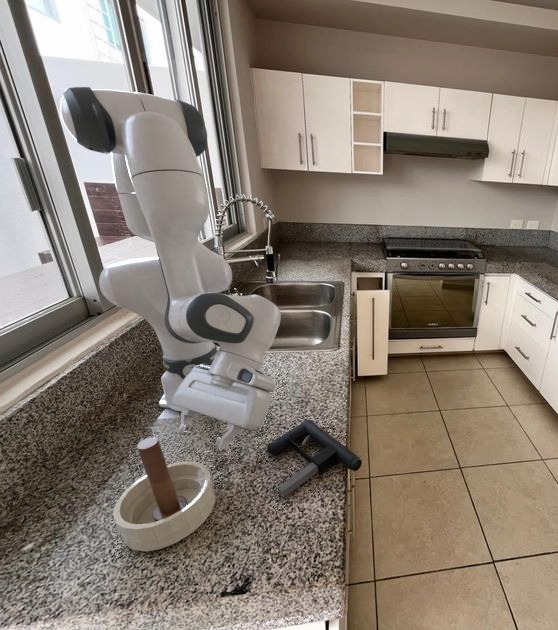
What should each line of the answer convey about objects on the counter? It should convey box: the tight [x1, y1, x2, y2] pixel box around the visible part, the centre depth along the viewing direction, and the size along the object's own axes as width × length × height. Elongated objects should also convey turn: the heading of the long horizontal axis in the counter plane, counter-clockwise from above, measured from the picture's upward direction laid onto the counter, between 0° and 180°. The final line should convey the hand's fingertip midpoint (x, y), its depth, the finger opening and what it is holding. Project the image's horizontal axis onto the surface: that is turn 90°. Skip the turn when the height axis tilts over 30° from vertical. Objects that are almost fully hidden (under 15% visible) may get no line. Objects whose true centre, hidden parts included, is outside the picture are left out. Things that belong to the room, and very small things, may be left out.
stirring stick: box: [136, 436, 188, 522], centre depth 58 cm, size 5×5×16 cm
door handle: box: [266, 419, 363, 499], centre depth 73 cm, size 3×20×16 cm
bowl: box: [112, 460, 217, 552], centre depth 60 cm, size 14×14×6 cm
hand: (201, 441), depth 65 cm, fingers open, 8 cm apart
